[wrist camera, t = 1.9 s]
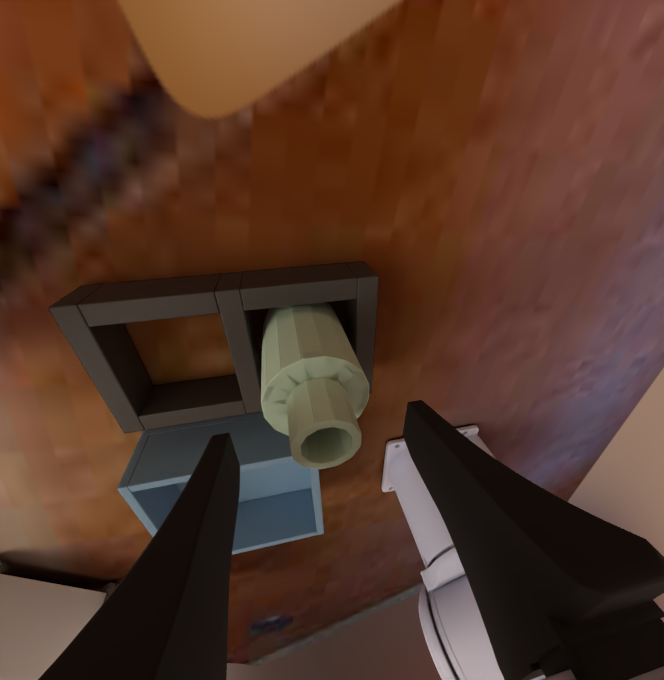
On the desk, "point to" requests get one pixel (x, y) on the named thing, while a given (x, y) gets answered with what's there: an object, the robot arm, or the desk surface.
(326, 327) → the bottle
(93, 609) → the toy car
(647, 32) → the desk surface
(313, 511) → the basket
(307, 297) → the bottle rack
